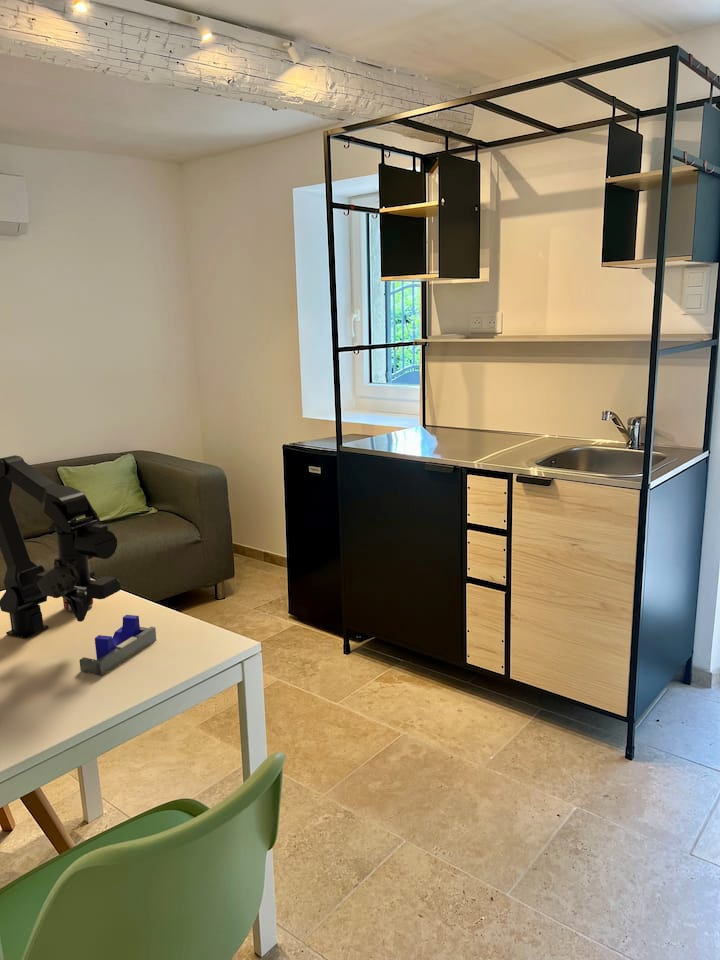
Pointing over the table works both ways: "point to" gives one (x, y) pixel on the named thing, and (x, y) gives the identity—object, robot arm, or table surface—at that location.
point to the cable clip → (117, 636)
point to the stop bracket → (119, 653)
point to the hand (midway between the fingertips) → (80, 620)
